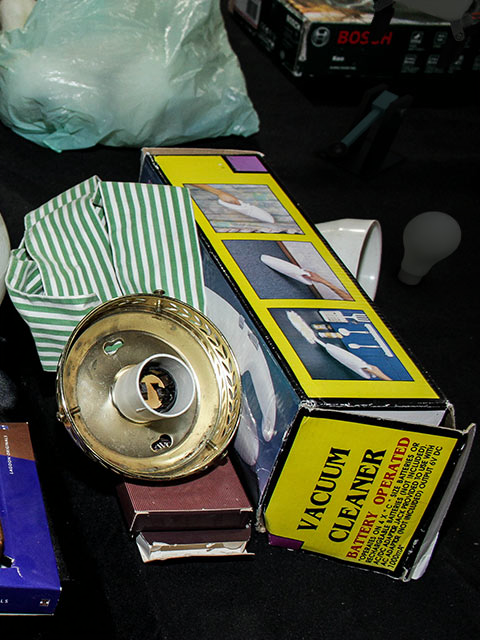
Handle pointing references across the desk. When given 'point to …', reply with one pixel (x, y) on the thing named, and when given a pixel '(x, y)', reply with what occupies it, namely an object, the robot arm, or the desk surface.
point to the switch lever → (359, 128)
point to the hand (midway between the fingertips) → (408, 52)
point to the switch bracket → (375, 155)
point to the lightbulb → (427, 244)
